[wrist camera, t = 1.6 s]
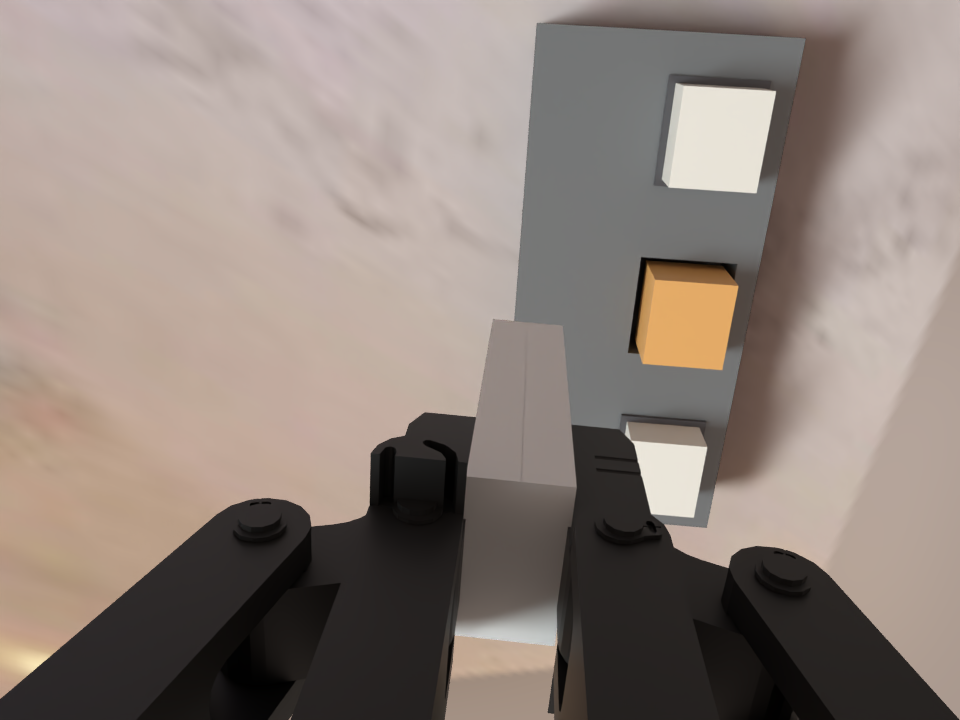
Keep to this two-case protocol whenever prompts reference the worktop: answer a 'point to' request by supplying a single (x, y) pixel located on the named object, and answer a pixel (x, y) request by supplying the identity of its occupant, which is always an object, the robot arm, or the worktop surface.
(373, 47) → the worktop surface
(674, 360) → the button orange
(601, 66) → the grey button panel
